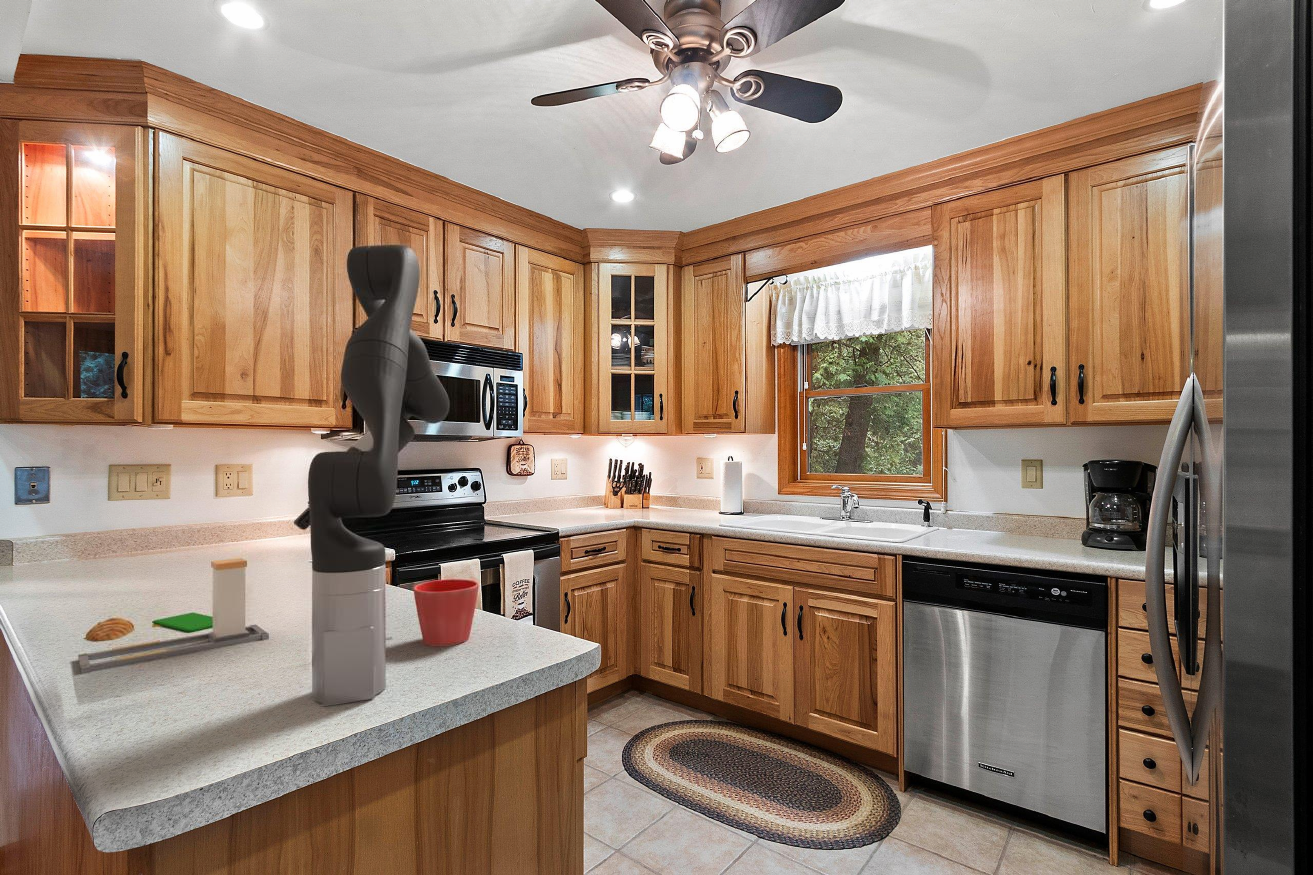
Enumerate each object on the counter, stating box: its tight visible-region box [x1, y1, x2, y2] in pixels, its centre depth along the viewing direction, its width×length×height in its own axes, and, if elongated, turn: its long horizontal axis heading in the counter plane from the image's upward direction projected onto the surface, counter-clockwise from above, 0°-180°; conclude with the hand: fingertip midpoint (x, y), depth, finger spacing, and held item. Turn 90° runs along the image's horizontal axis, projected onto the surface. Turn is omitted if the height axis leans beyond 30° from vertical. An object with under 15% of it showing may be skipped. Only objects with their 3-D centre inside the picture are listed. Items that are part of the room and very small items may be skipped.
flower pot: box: [413, 578, 480, 647], centre depth 114 cm, size 11×11×10 cm
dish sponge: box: [151, 612, 213, 633], centre depth 121 cm, size 7×14×2 cm, turn 61°
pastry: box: [84, 617, 136, 642], centre depth 114 cm, size 9×7×4 cm
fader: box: [208, 557, 250, 643], centre depth 110 cm, size 5×5×13 cm
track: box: [77, 624, 270, 675], centre depth 105 cm, size 24×9×2 cm, turn 134°
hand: (298, 526), depth 118 cm, fingers closed
